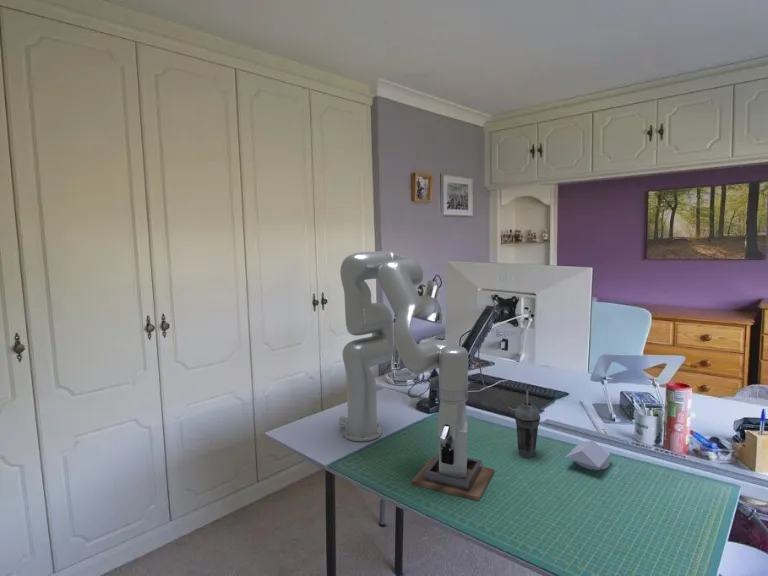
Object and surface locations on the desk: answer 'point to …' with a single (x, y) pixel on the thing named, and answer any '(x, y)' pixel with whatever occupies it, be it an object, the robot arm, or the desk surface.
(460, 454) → the supplement box
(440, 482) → the collar board
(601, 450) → the grey faceted rock
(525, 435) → the beverage cup
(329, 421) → the desk surface
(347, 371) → the robot arm
